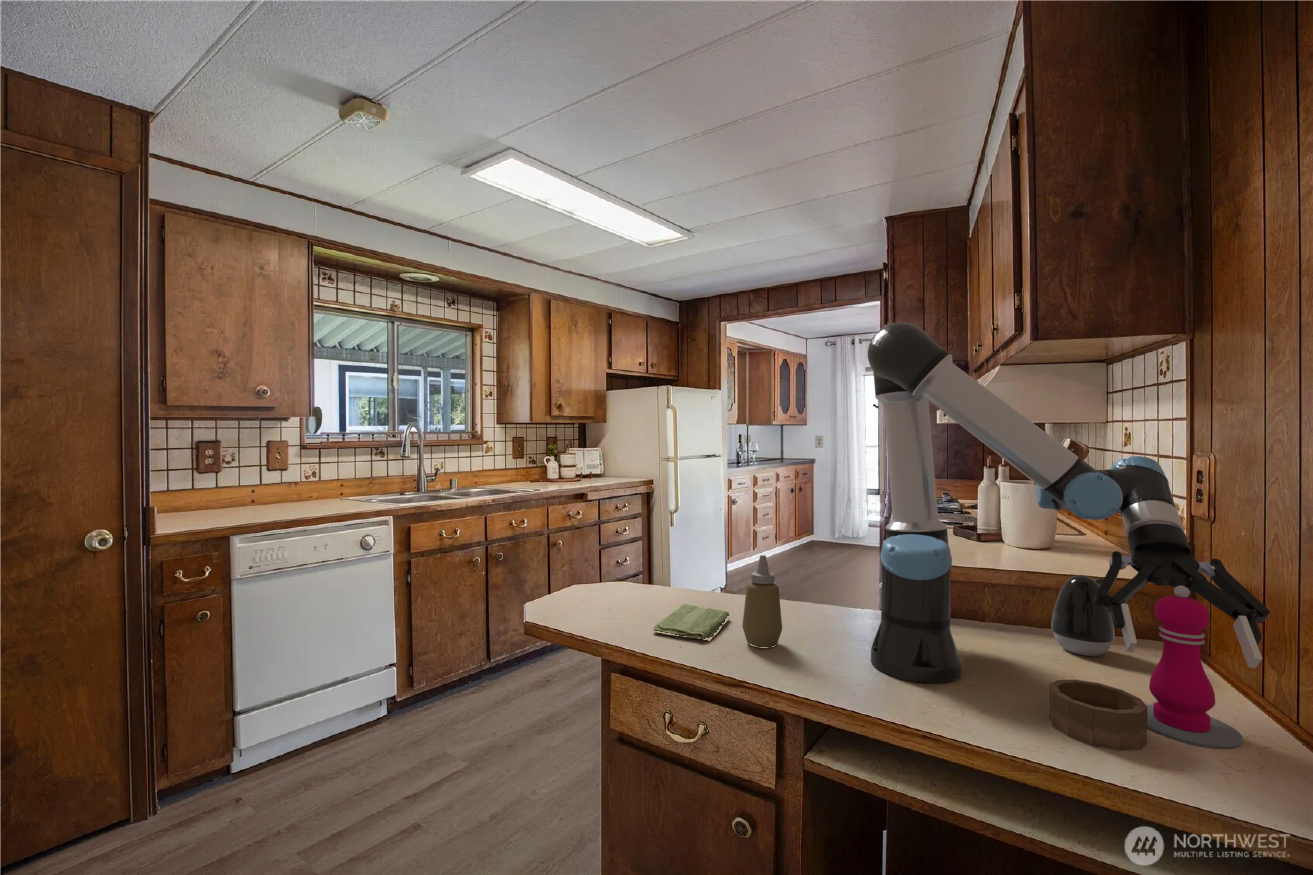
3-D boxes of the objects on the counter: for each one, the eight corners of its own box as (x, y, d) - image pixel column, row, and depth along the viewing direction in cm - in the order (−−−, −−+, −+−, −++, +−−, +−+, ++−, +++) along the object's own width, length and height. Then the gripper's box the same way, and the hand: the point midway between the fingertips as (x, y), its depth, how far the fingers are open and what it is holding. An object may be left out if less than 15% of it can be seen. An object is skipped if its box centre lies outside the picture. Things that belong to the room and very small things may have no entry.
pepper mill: (1228, 737, 81) (1229, 593, 81) (1168, 731, 83) (1169, 590, 83) (1192, 713, 88) (1193, 581, 88) (1138, 708, 90) (1138, 578, 90)
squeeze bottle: (737, 648, 116) (738, 557, 116) (747, 635, 124) (747, 550, 124) (778, 654, 113) (779, 561, 113) (785, 641, 120) (786, 553, 121)
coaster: (1119, 721, 87) (1119, 717, 87) (1146, 701, 94) (1146, 698, 94) (1230, 758, 77) (1230, 753, 77) (1251, 732, 84) (1252, 728, 84)
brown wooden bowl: (1036, 724, 86) (1036, 690, 86) (1067, 705, 92) (1068, 674, 92) (1129, 758, 77) (1129, 720, 77) (1156, 735, 83) (1157, 700, 83)
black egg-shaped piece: (1128, 658, 113) (1128, 579, 113) (1088, 663, 110) (1088, 582, 110) (1077, 640, 123) (1077, 568, 123) (1038, 645, 120) (1039, 571, 120)
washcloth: (650, 636, 124) (650, 621, 124) (681, 614, 140) (681, 601, 140) (708, 646, 118) (709, 630, 118) (734, 622, 134) (734, 608, 134)
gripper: (1247, 555, 94) (1300, 682, 80) (1061, 542, 105) (1080, 653, 91) (1264, 526, 89) (1324, 657, 76) (1068, 516, 100) (1089, 628, 86)
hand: (1191, 655), depth 83 cm, fingers open, 13 cm apart
